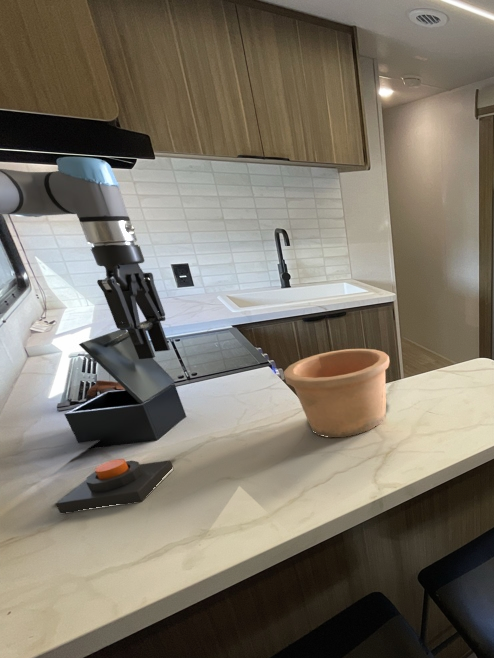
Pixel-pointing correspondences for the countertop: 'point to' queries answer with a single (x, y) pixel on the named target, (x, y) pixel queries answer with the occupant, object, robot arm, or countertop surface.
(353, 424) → the pottery
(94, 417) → the dark grey box
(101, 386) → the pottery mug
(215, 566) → the countertop surface
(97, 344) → the lid
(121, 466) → the button
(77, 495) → the panel
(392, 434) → the countertop surface
